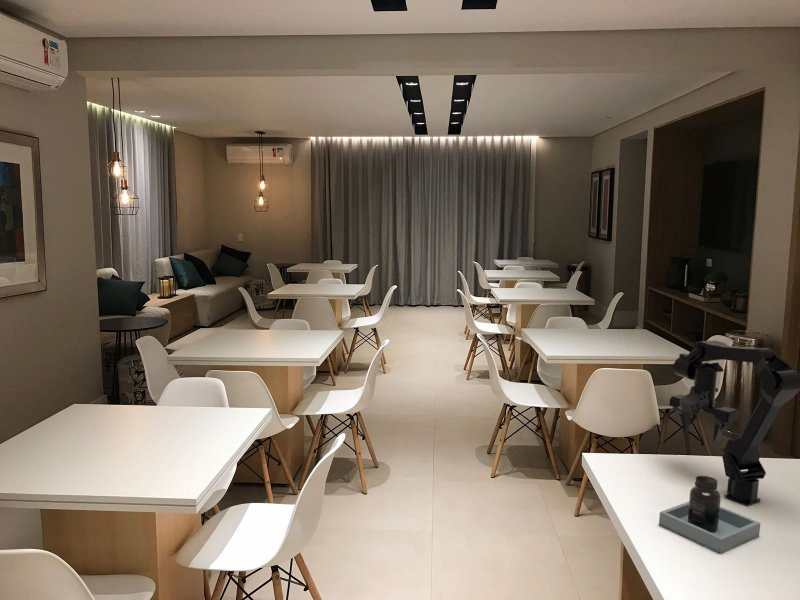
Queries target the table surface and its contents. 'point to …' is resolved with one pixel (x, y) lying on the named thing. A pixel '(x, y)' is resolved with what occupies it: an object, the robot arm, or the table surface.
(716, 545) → the box
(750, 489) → the robot arm
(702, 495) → the supplement bottle
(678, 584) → the table surface
